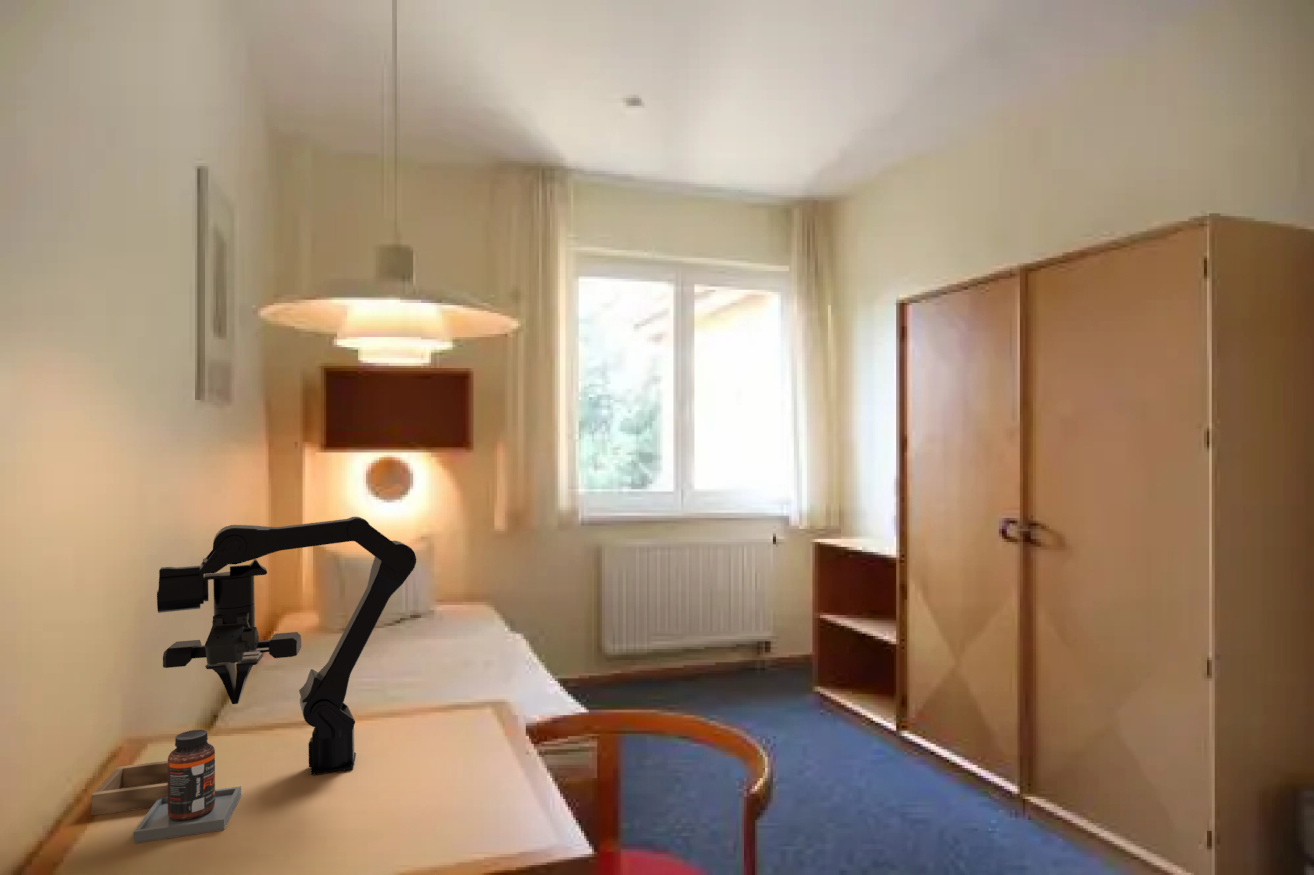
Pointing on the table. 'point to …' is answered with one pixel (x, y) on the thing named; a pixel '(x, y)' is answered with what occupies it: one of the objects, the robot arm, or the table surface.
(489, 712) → the table surface
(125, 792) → the walnut collar
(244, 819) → the table surface
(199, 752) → the supplement bottle
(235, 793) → the slate tray
